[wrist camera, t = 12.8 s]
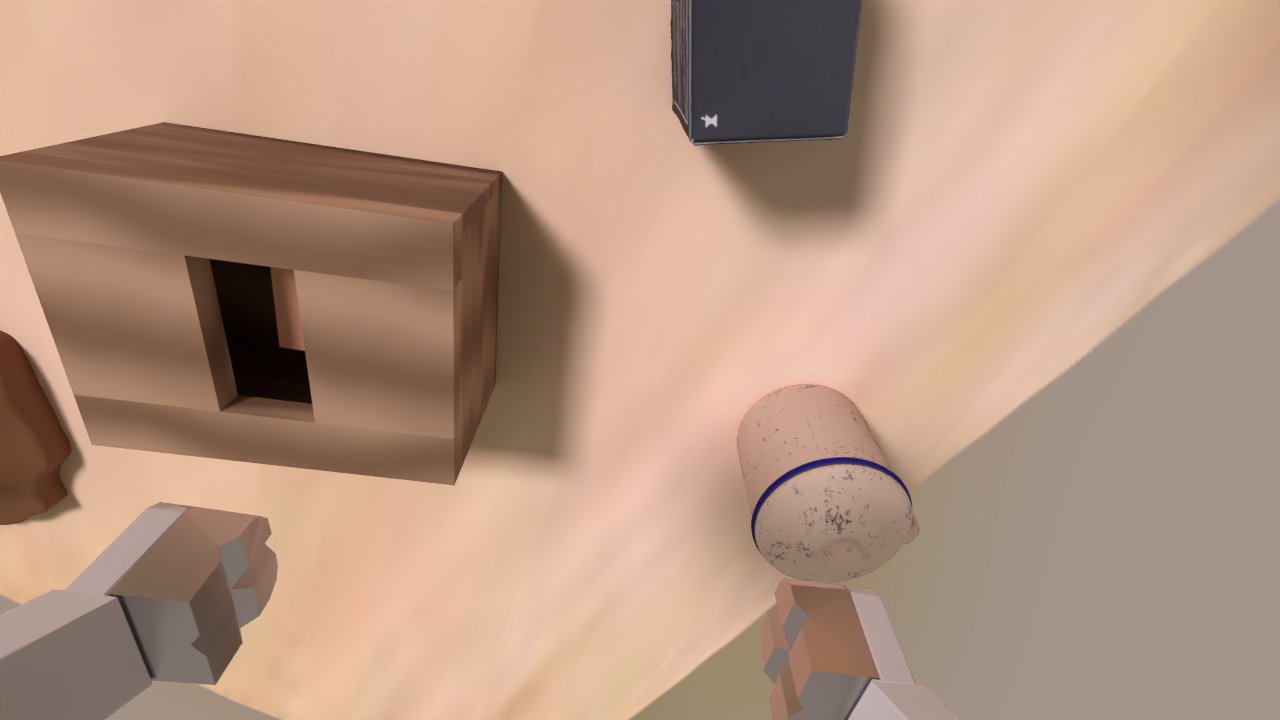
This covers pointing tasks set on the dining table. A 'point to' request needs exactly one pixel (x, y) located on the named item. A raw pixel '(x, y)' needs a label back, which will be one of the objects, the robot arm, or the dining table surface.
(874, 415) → the dining table surface
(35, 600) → the robot arm
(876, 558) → the teacup with lid
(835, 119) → the small box
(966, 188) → the dining table surface
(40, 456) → the plant
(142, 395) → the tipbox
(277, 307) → the orange block
